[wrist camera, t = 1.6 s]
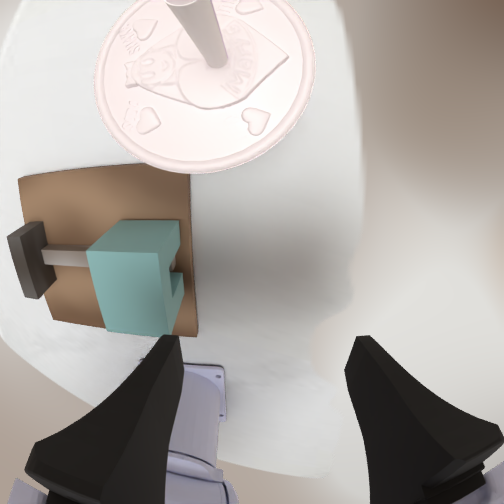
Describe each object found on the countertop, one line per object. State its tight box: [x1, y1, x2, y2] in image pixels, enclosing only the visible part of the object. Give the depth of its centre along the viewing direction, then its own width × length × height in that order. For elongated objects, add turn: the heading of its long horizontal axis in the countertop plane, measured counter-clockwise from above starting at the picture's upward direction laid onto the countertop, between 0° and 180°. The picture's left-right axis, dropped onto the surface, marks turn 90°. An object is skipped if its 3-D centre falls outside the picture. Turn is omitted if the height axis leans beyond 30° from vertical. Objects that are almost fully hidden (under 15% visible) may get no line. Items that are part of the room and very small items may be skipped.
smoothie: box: [94, 0, 316, 174], centre depth 8 cm, size 6×6×14 cm
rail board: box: [7, 163, 198, 337], centre depth 17 cm, size 13×14×4 cm
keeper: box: [86, 220, 184, 337], centre depth 16 cm, size 5×4×5 cm
